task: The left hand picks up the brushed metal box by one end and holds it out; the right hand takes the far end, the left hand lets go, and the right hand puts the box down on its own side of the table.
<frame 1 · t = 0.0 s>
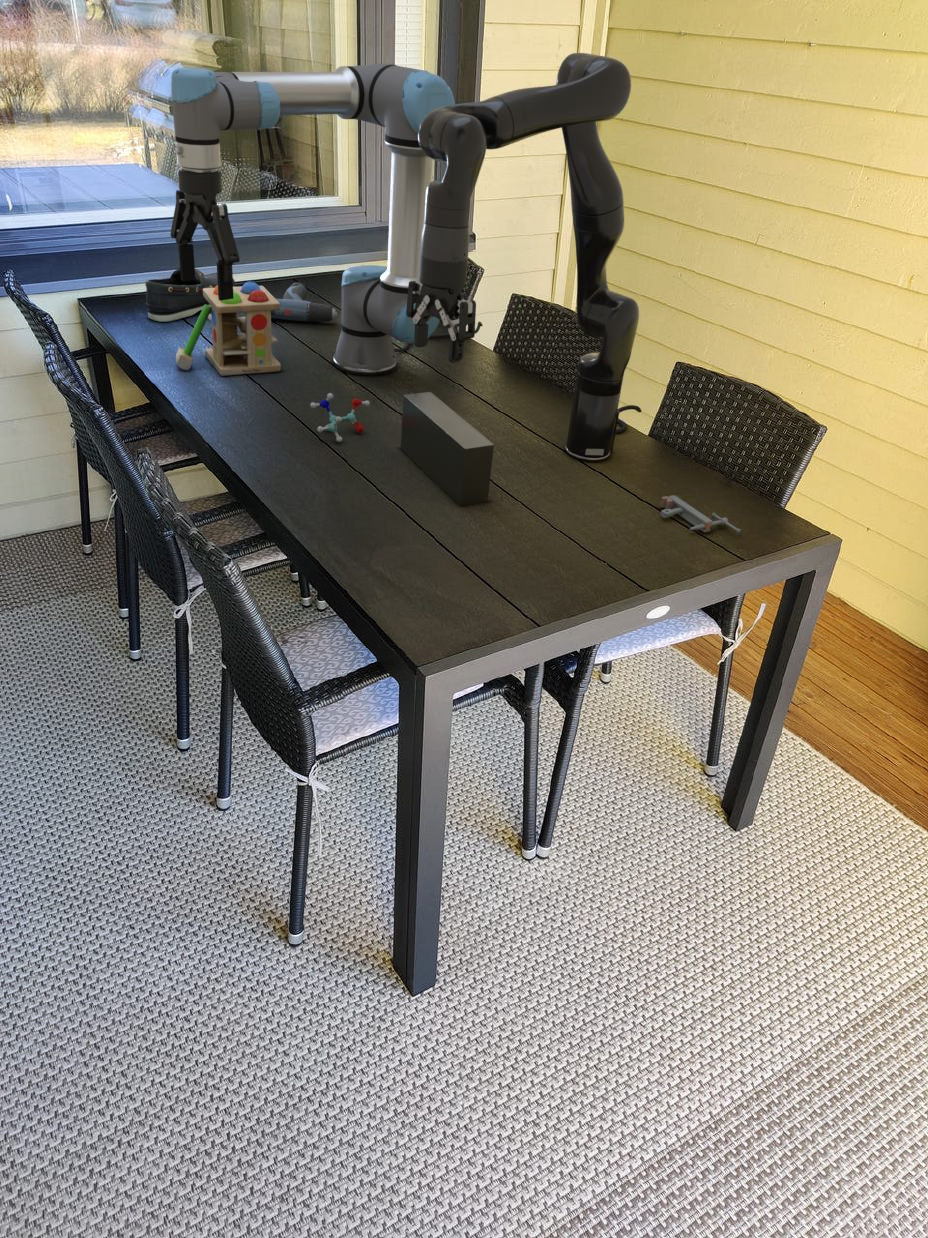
left hand: (206, 289, 186), 28 cm above the table, tool pointing down, fingers open, 13 cm apart
right hand: (437, 353, 163), 29 cm above the table, tool pointing down, fingers open, 8 cm apart
power drill: (305, 313, 267), on the table
box: (442, 474, 192), on the table
clamp: (693, 523, 184), on the table
molecular model: (336, 433, 204), on the table
pounding bench toy: (225, 365, 230), on the table
boat shoe: (193, 306, 264), on the table
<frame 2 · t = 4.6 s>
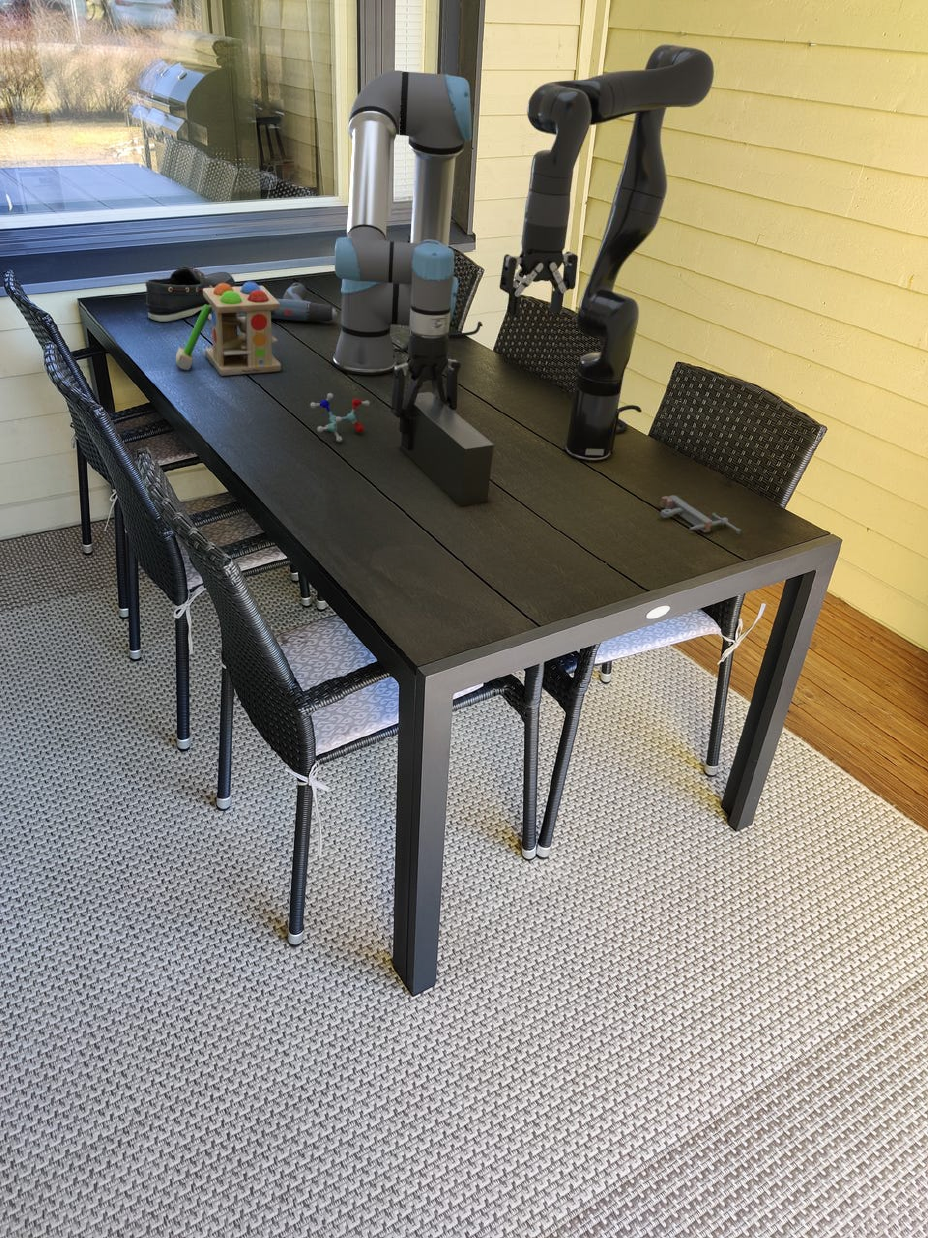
left hand: (421, 445, 198), 2 cm above the table, tool pointing down, fingers closed on box, 6 cm apart
right hand: (534, 314, 175), 32 cm above the table, tool pointing down, fingers open, 8 cm apart
box: (442, 474, 192), on the table, touching left hand
everything else where it was.
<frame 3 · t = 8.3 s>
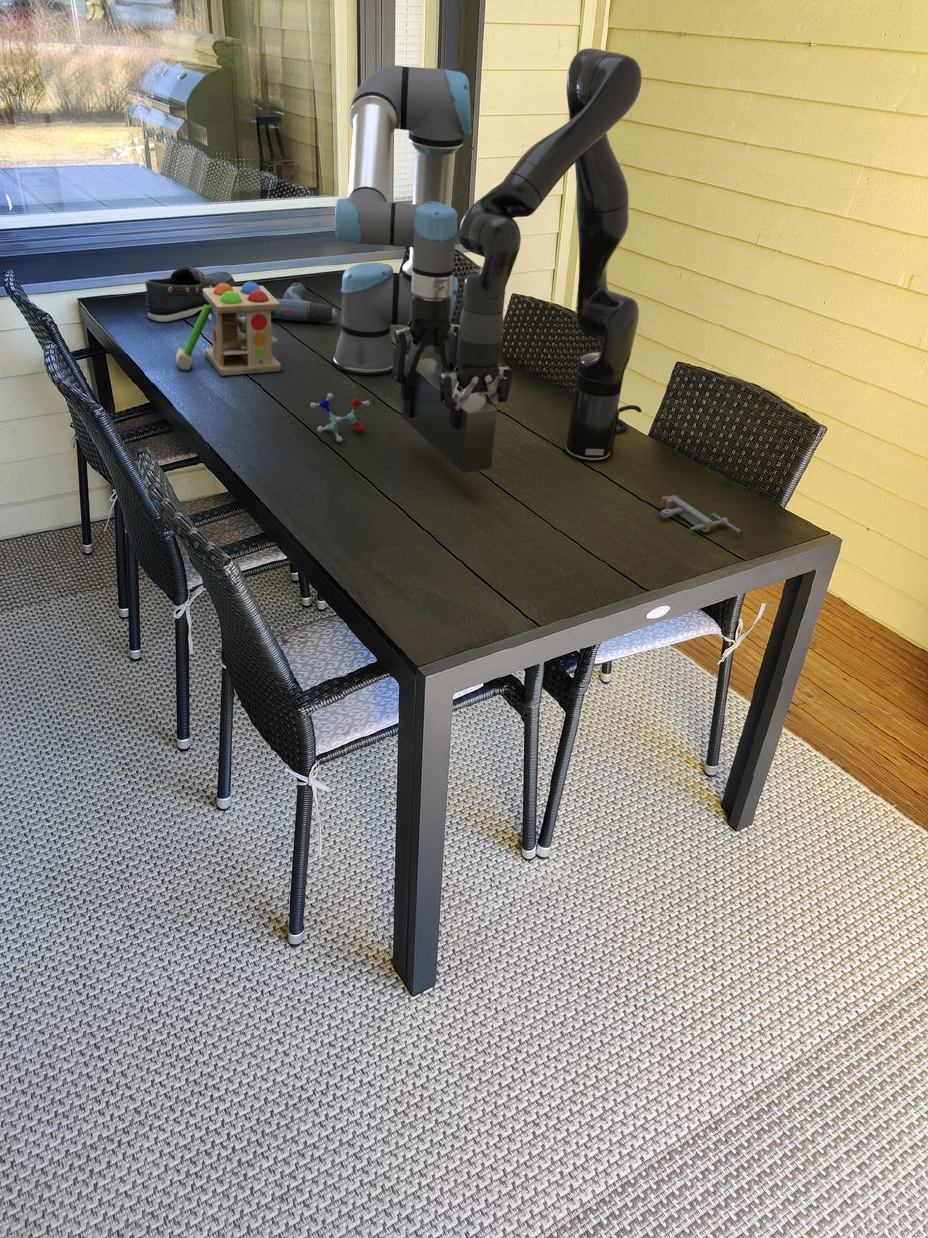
left hand: (423, 412, 194), 9 cm above the table, tool pointing down, fingers closed on box, 6 cm apart
right hand: (471, 425, 177), 14 cm above the table, tool pointing down, fingers closed on box, 6 cm apart
box: (444, 441, 188), point 7 cm above the table, touching left hand, right hand
everything else where it was.
when the left hand's fingers open (9 cm above the table, at t = 9.3 s): box stays where it is, held by the right hand.
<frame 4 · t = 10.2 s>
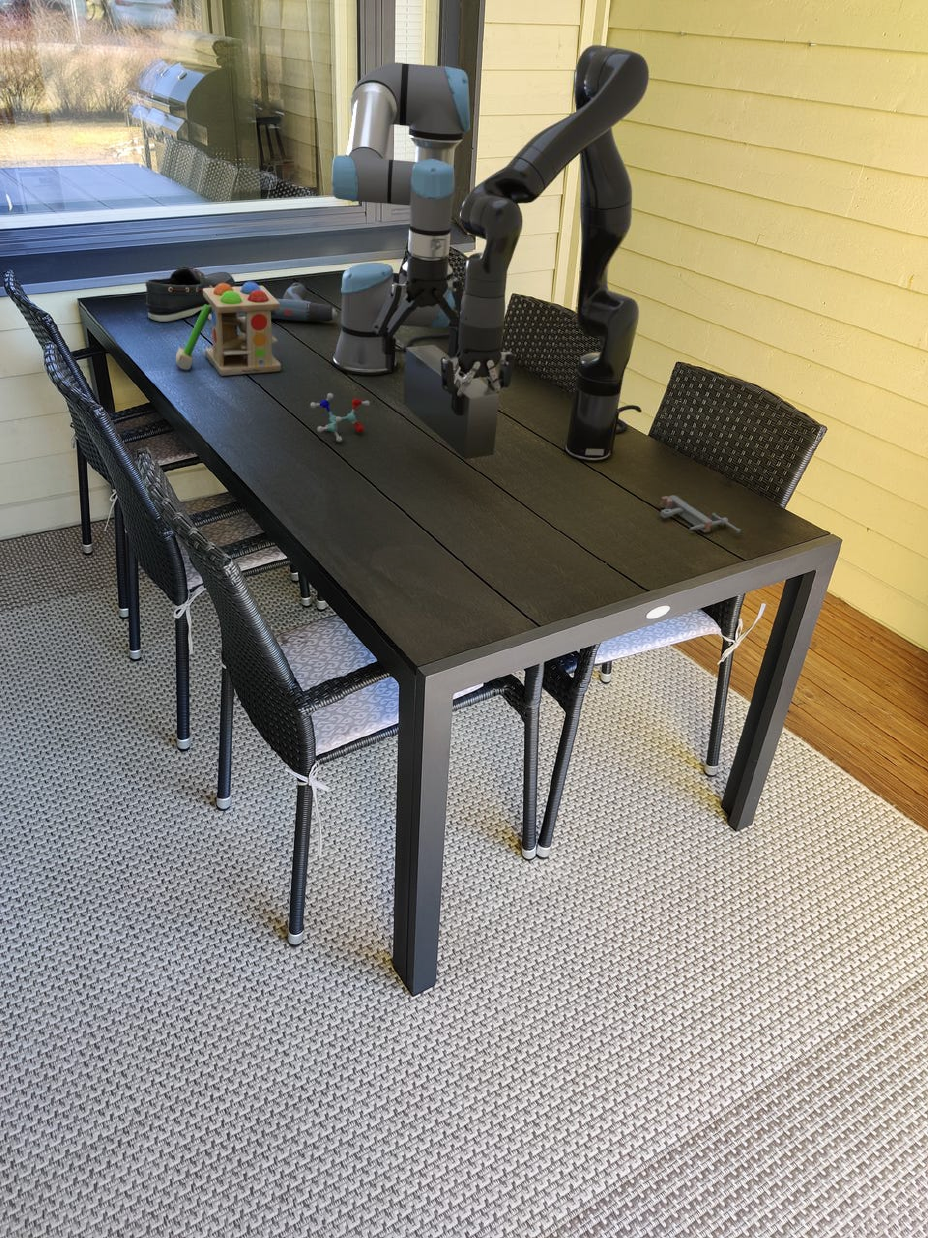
left hand: (421, 366, 191), 17 cm above the table, tool pointing down, fingers open, 13 cm apart
right hand: (473, 411, 176), 17 cm above the table, tool pointing down, fingers closed on box, 6 cm apart
box: (446, 428, 187), point 10 cm above the table, touching right hand
everything else where it was.
when the right hand's fingers open (8 cm above the table, at t = 13.7 s): box stays where it is, on the table.
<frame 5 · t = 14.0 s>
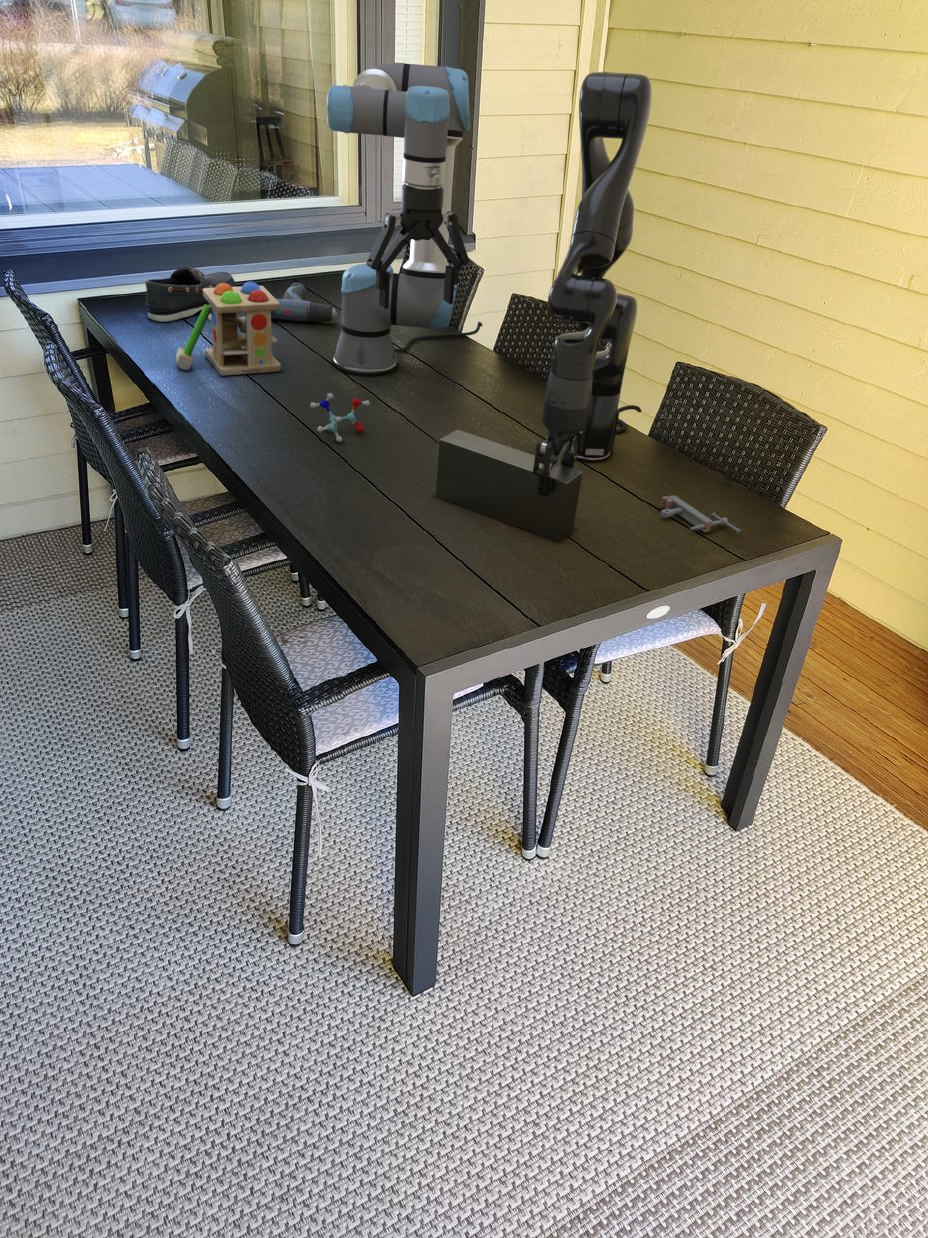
left hand: (416, 304, 187), 28 cm above the table, tool pointing down, fingers open, 13 cm apart
right hand: (554, 486, 172), 9 cm above the table, tool pointing down, fingers open, 8 cm apart
box: (503, 512, 181), on the table
everything else where it was.
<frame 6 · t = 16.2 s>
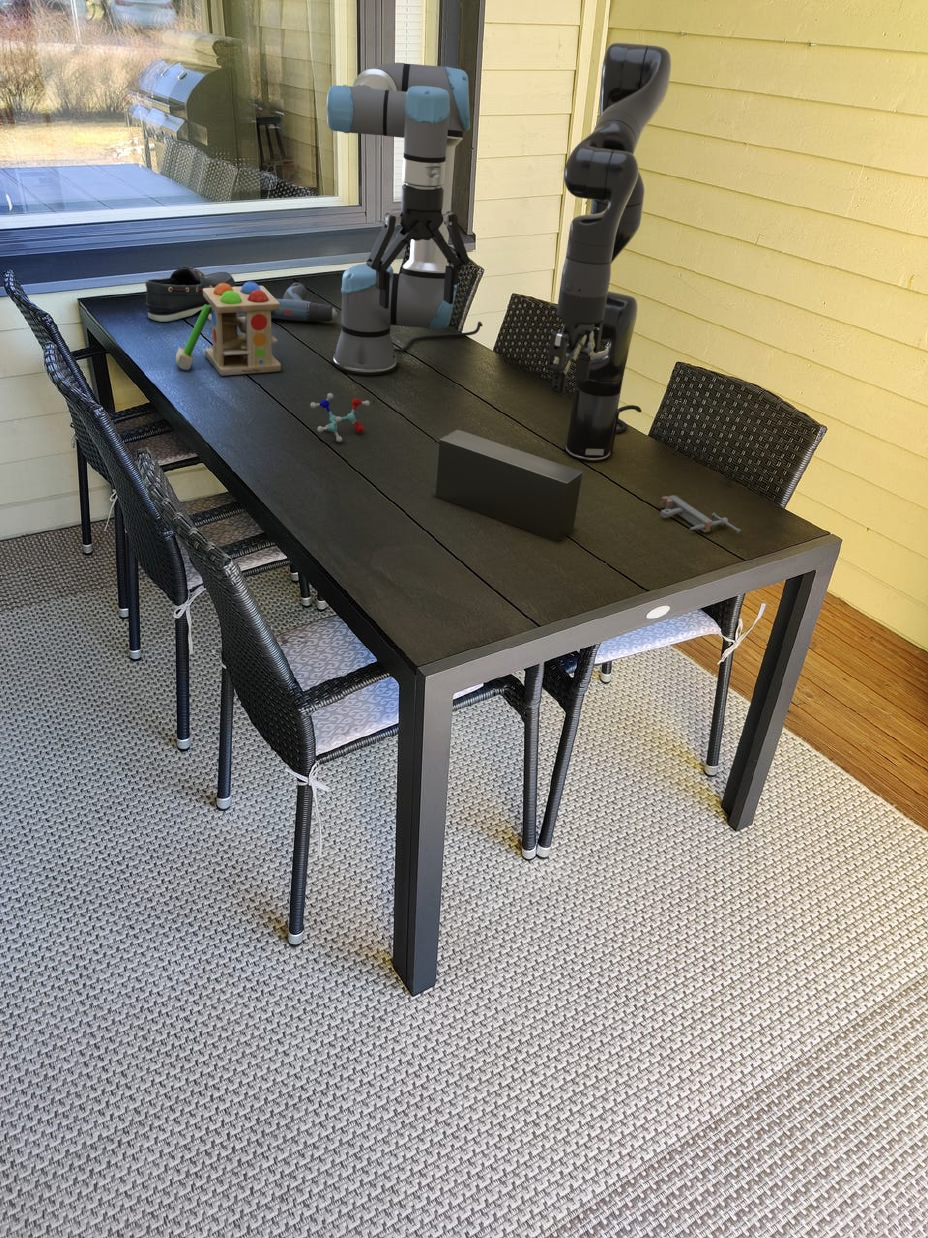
left hand: (416, 304, 187), 28 cm above the table, tool pointing down, fingers open, 13 cm apart
right hand: (569, 387, 162), 27 cm above the table, tool pointing down, fingers open, 8 cm apart
nothing on the table moved.
at the end: box inside the target area (9.5 cm from its centre), on the table; the left hand is holding nothing; the right hand is holding nothing; box at rest at the end (0.0 cm/s) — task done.
